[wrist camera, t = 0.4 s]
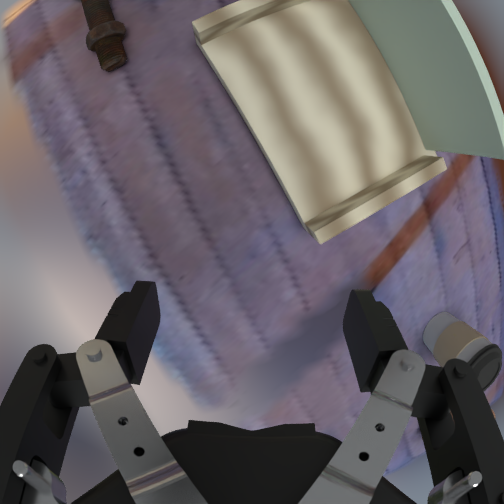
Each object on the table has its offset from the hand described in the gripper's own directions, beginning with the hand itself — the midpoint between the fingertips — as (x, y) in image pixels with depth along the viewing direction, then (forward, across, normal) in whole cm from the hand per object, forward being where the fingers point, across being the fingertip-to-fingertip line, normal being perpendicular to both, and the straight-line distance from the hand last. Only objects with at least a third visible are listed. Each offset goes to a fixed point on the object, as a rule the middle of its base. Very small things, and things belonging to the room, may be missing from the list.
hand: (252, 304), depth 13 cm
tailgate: (+27, -17, -14) cm, 35 cm away
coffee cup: (+25, -33, +25) cm, 48 cm away
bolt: (+28, +19, -18) cm, 39 cm away
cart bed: (+28, -8, -8) cm, 31 cm away
